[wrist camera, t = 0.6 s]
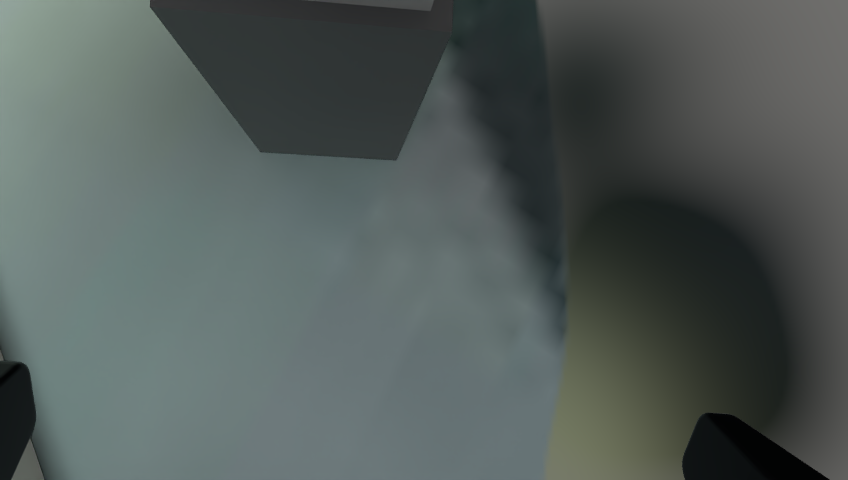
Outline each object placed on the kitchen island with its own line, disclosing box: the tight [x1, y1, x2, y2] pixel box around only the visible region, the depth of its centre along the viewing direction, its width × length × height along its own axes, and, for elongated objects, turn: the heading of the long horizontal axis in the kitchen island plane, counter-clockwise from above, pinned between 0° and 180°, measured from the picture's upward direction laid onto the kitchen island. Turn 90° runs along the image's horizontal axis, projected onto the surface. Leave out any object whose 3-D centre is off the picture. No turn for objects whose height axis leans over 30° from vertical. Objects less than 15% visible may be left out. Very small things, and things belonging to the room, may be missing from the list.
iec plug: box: [150, 0, 453, 160], centre depth 15 cm, size 4×4×13 cm
